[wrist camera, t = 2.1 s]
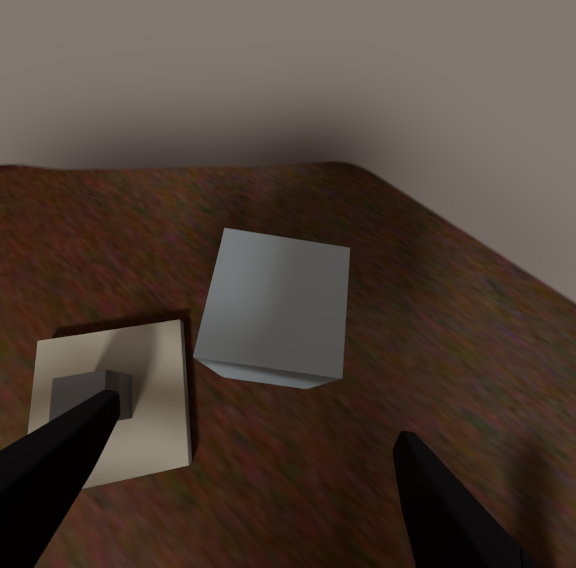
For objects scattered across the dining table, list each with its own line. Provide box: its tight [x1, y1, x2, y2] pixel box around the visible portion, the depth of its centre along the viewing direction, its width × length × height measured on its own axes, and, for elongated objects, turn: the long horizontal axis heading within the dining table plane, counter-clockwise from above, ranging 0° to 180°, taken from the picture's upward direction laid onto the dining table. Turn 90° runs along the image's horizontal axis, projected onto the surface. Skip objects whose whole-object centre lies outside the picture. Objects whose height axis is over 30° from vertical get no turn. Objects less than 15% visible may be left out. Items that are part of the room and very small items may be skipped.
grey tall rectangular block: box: [193, 228, 350, 389], centre depth 17 cm, size 6×6×10 cm
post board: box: [28, 320, 192, 489], centre depth 18 cm, size 9×9×4 cm
